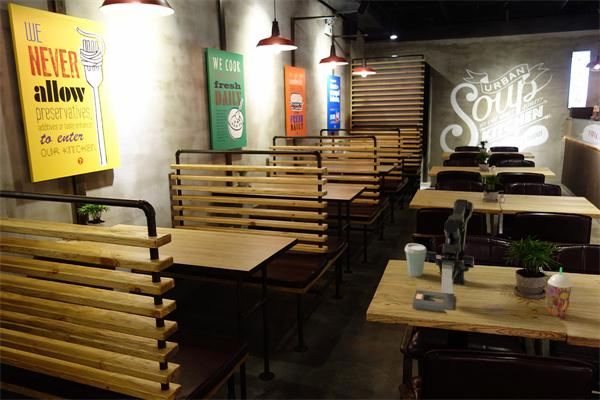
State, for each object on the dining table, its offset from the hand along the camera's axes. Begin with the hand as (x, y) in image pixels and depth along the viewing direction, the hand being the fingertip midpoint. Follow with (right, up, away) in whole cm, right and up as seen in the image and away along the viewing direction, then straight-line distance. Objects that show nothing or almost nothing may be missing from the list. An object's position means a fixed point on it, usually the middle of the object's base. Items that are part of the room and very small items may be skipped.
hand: (446, 278), depth 193 cm
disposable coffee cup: (-3, -5, +41) cm, 41 cm away
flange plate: (-3, -12, +8) cm, 15 cm away
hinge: (+52, -6, +30) cm, 60 cm away
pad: (+19, -14, -2) cm, 23 cm away
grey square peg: (+1, -6, +2) cm, 6 cm away
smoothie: (+42, -14, -6) cm, 44 cm away
